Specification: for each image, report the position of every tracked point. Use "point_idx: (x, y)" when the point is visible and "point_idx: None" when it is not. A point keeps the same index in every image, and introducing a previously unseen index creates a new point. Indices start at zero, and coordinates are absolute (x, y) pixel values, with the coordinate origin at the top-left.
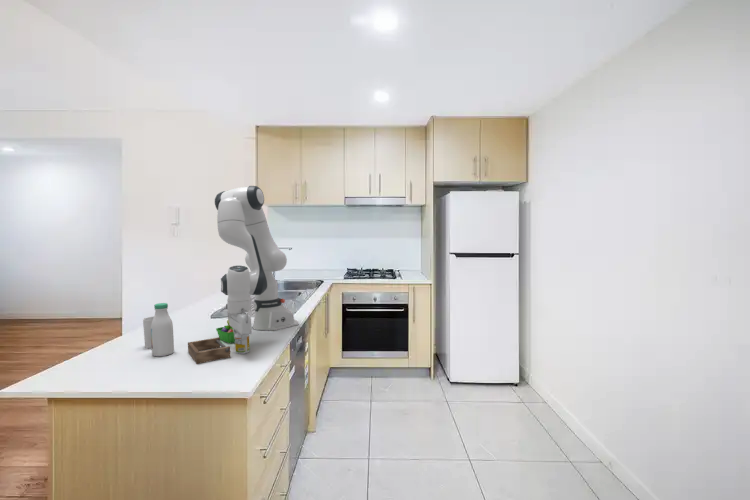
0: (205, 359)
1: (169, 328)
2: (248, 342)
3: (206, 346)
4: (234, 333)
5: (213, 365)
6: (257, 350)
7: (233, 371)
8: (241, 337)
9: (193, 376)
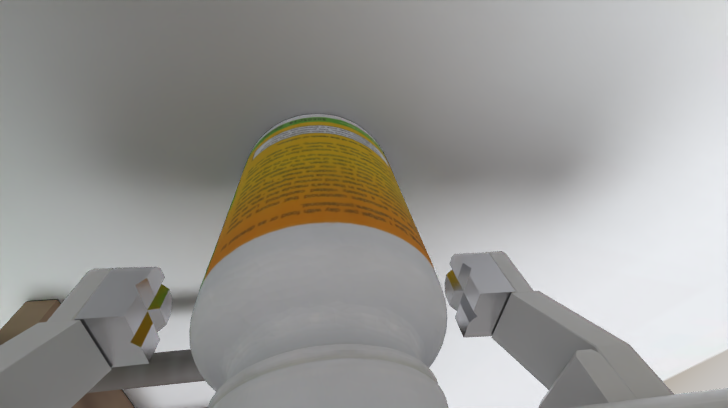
0: None
1: None
2: (392, 186)
3: (91, 394)
4: (89, 384)
5: (464, 351)
6: (376, 21)
7: (636, 296)
8: (545, 380)
9: (522, 399)
